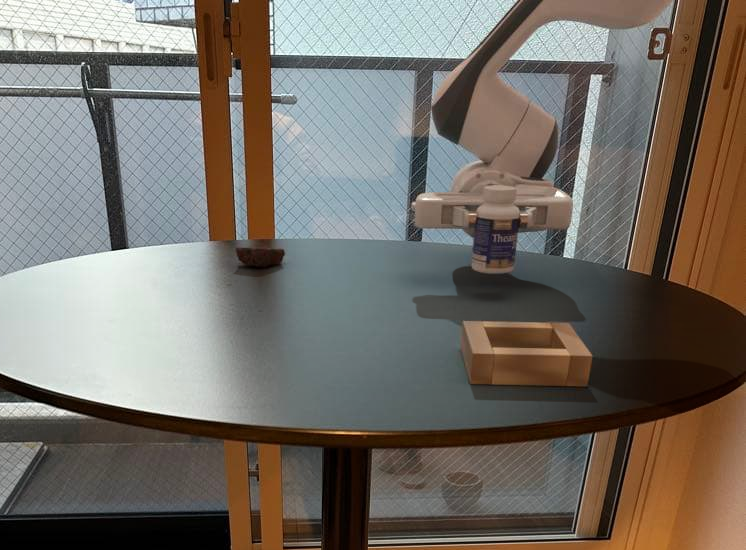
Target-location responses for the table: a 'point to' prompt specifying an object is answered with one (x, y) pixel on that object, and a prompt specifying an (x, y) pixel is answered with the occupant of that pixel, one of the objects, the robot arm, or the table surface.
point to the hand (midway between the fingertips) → (498, 221)
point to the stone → (260, 256)
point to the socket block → (524, 354)
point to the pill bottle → (496, 231)
